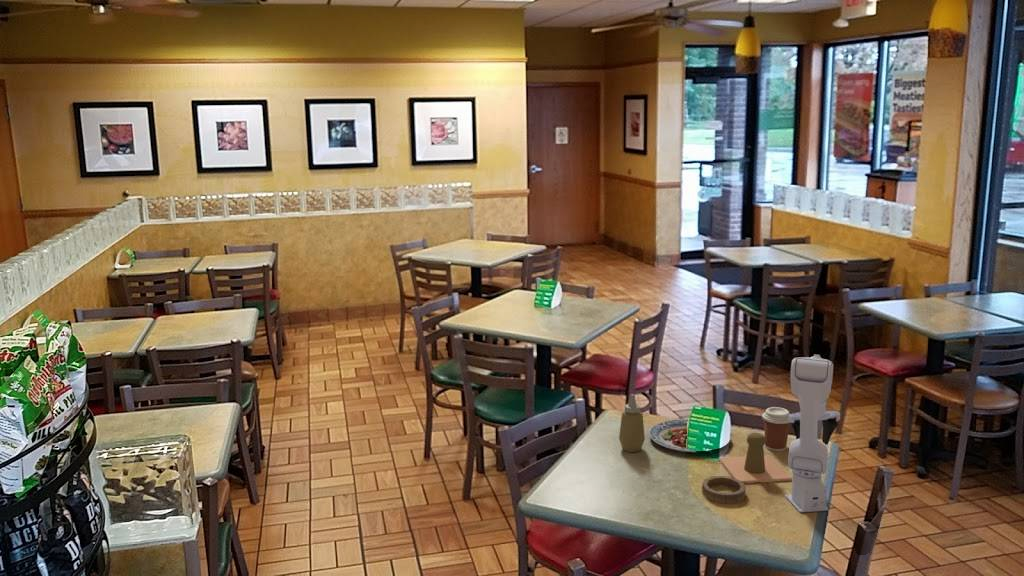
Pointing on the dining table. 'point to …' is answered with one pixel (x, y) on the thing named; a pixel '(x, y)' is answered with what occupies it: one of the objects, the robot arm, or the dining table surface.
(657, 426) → the ceramic plate
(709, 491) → the holder ring
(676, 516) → the dining table surface
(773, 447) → the coffee cup
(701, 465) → the dining table surface
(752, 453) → the cork
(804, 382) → the robot arm
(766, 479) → the coaster
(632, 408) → the squeeze bottle
